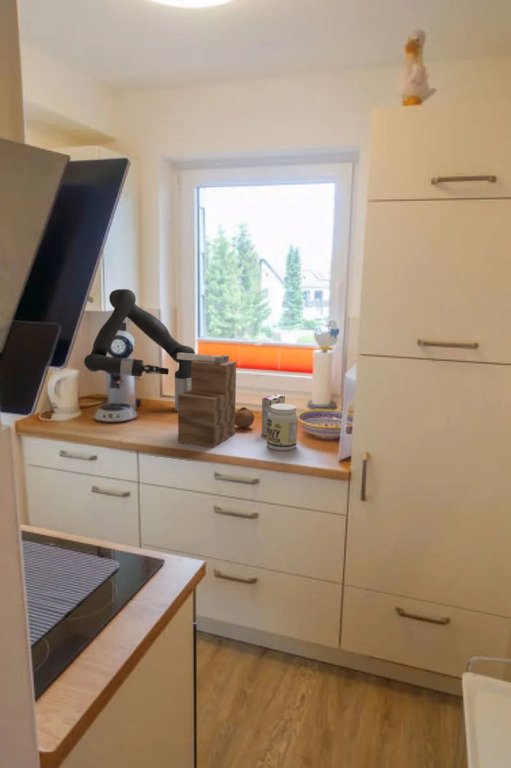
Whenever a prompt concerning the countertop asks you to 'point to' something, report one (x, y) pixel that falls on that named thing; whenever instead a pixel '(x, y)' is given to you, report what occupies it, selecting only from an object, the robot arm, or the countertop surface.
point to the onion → (244, 417)
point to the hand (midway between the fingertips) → (168, 371)
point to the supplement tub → (282, 427)
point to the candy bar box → (266, 408)
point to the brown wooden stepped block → (208, 405)
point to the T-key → (203, 358)
